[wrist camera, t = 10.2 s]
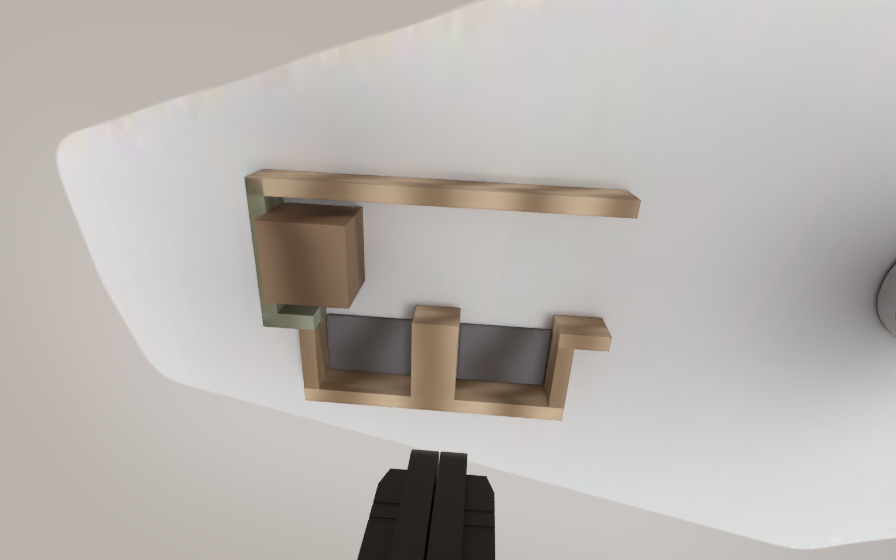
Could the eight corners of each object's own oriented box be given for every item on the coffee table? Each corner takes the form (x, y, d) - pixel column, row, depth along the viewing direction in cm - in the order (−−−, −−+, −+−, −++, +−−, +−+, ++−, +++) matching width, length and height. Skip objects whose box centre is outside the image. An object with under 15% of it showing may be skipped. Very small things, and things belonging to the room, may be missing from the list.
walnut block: (362, 206, 35) (344, 226, 30) (365, 280, 37) (348, 308, 33) (284, 201, 35) (254, 220, 31) (291, 275, 38) (264, 302, 33)
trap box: (627, 190, 33) (640, 200, 30) (586, 399, 40) (593, 423, 37) (263, 169, 34) (244, 177, 31) (286, 376, 41) (272, 397, 39)
